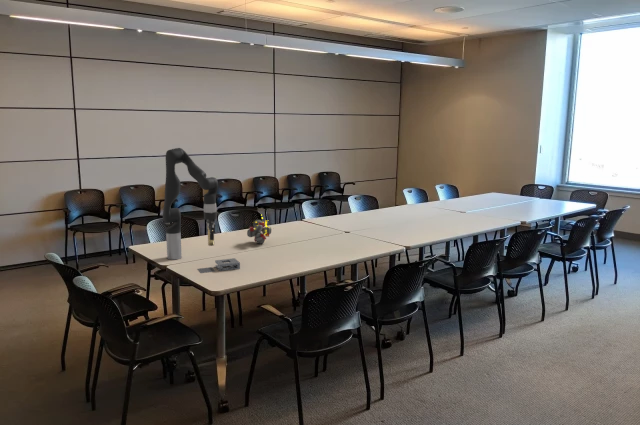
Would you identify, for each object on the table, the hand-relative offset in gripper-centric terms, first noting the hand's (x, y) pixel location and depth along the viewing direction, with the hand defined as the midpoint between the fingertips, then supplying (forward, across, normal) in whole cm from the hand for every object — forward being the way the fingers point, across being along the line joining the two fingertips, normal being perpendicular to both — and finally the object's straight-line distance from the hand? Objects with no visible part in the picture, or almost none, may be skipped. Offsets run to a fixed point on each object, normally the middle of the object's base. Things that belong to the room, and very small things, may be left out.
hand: (211, 239), depth 303 cm
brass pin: (+4, 0, 0) cm, 4 cm away
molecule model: (+19, -55, +48) cm, 75 cm away
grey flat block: (+19, -1, +9) cm, 21 cm away
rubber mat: (+19, 0, -4) cm, 20 cm away
